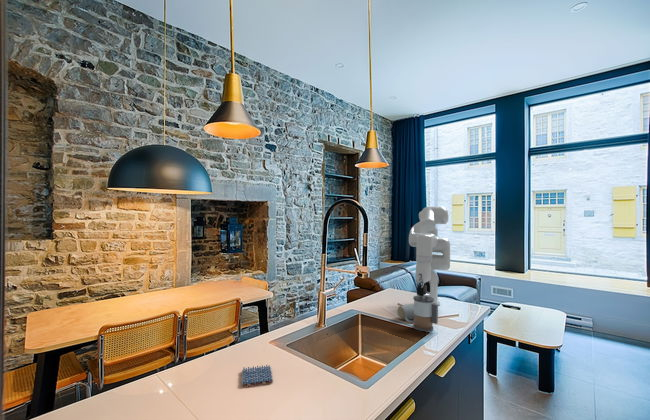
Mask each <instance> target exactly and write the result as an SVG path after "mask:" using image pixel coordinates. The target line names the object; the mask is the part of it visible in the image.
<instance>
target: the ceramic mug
mask: <svg viewBox="0 0 650 420" xmlns="http://www.w3.org/2000/svg"><path fill="white" fill-rule="evenodd" d="M396 313H397V315H398V317H399V319H400V320H403V321H406V322H408V323H409V324H414V303H410V304H405V305H404V304H403V305H400V306H398V308H397V312H396Z"/></svg>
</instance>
